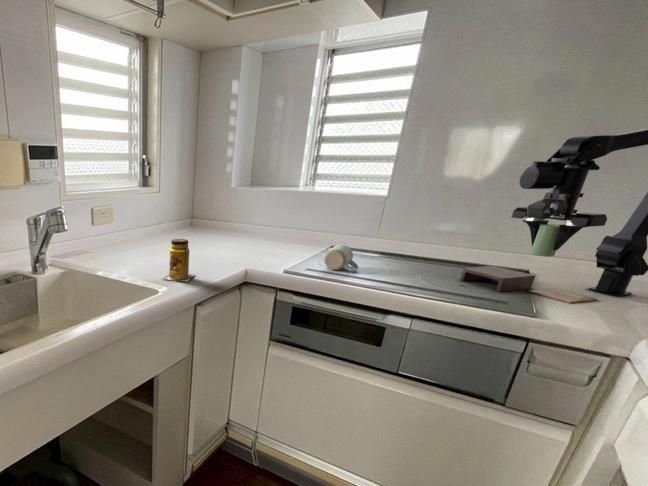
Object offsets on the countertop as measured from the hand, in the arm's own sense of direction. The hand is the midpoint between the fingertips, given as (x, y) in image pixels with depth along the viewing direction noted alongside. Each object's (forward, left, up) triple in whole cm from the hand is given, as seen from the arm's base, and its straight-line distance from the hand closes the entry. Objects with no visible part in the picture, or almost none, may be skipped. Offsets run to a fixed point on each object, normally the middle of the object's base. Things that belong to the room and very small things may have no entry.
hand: (544, 248), depth 111 cm
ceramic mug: (+37, -34, -12) cm, 51 cm away
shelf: (+4, -7, -12) cm, 14 cm away
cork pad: (-3, +6, -12) cm, 14 cm away
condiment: (+94, -37, -12) cm, 102 cm away
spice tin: (0, 0, -2) cm, 2 cm away
